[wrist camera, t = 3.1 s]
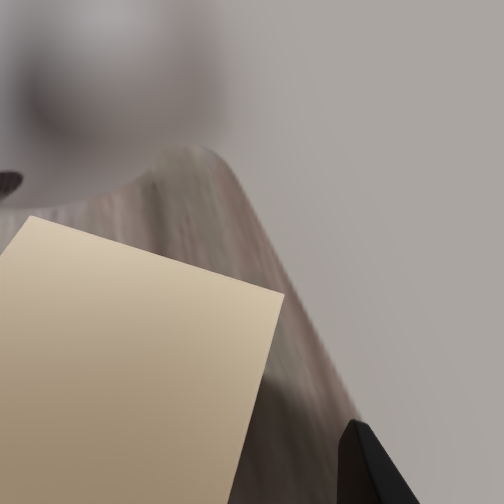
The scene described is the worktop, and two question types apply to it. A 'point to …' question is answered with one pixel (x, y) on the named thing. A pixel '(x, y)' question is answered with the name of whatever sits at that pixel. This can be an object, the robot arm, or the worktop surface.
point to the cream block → (123, 372)
